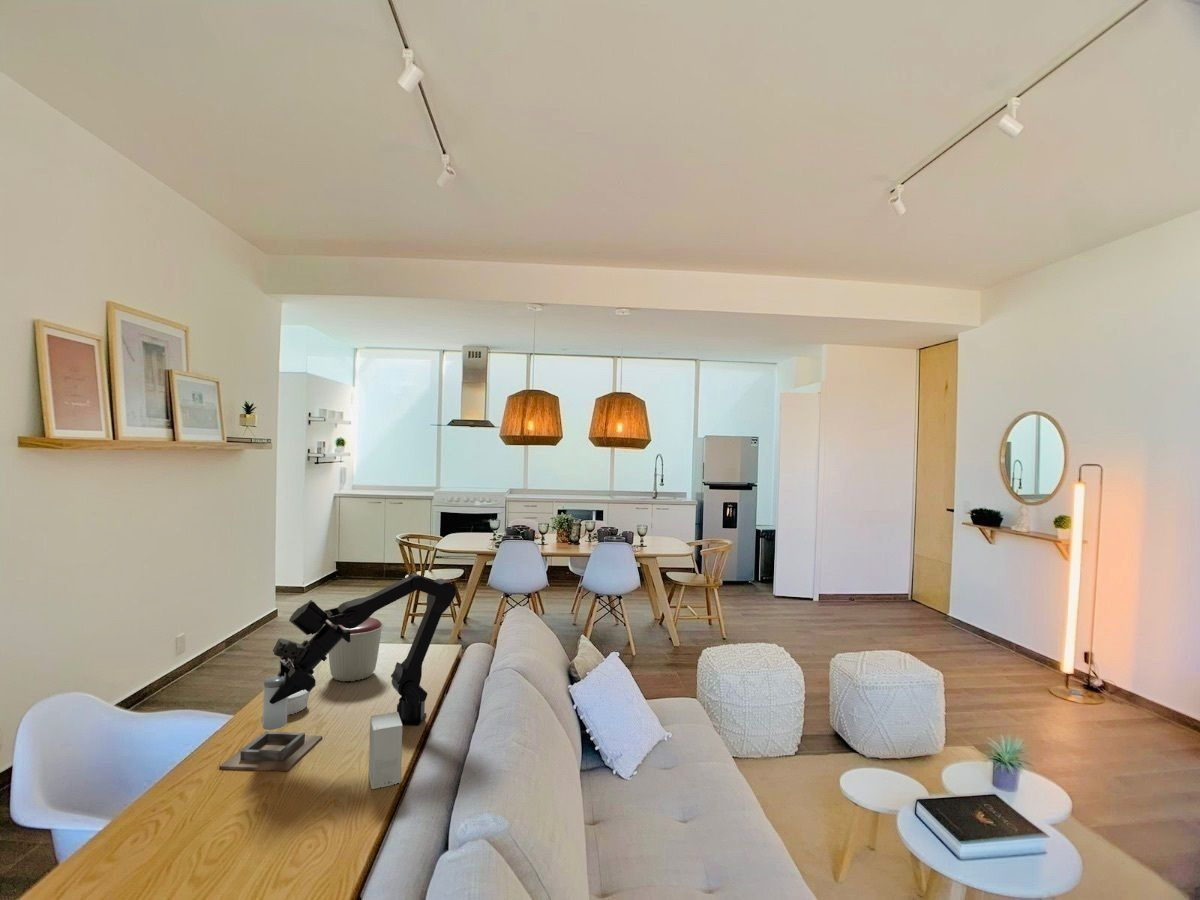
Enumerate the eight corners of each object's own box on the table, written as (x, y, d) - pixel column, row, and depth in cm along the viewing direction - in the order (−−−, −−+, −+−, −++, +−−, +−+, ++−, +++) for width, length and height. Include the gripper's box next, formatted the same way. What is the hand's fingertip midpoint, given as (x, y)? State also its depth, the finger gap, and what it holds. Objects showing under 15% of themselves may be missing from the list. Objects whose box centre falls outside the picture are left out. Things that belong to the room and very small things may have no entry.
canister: (321, 690, 180) (324, 621, 181) (323, 670, 197) (325, 607, 197) (383, 682, 188) (386, 617, 188) (380, 663, 204) (382, 603, 204)
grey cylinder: (291, 723, 143) (292, 678, 143) (270, 731, 139) (272, 685, 139) (278, 718, 146) (280, 674, 146) (258, 726, 141) (259, 680, 141)
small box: (401, 783, 130) (403, 725, 130) (370, 790, 127) (372, 730, 128) (396, 766, 137) (398, 710, 138) (368, 772, 135) (369, 715, 135)
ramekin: (312, 699, 173) (313, 681, 174) (306, 715, 163) (307, 696, 163) (270, 703, 170) (271, 685, 170) (261, 720, 159) (262, 701, 159)
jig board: (322, 738, 150) (322, 728, 150) (287, 771, 134) (287, 760, 134) (261, 735, 150) (261, 725, 150) (219, 768, 134) (219, 757, 134)
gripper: (290, 617, 152) (239, 668, 146) (301, 636, 137) (245, 693, 131) (322, 642, 157) (274, 692, 150) (336, 663, 142) (284, 720, 135)
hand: (269, 698), depth 142 cm, fingers closed on grey cylinder, 5 cm apart
